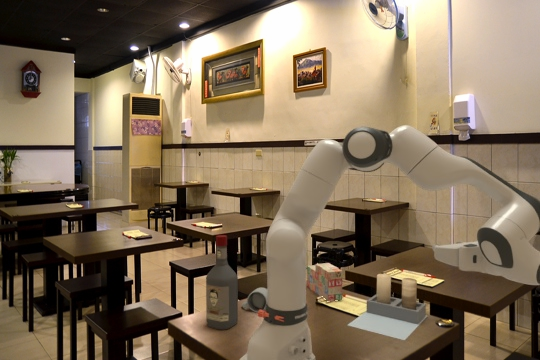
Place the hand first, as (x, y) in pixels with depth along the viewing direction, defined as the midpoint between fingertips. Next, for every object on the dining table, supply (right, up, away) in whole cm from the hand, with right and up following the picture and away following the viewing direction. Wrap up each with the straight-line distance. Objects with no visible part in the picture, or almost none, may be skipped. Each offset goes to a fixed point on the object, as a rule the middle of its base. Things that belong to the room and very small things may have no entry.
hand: (446, 245), depth 124 cm
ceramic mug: (-58, -29, +31) cm, 72 cm away
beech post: (-4, -25, +20) cm, 32 cm away
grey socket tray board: (-12, -29, +17) cm, 36 cm away
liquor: (-69, -29, +17) cm, 76 cm away
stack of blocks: (-30, -28, +49) cm, 64 cm away
